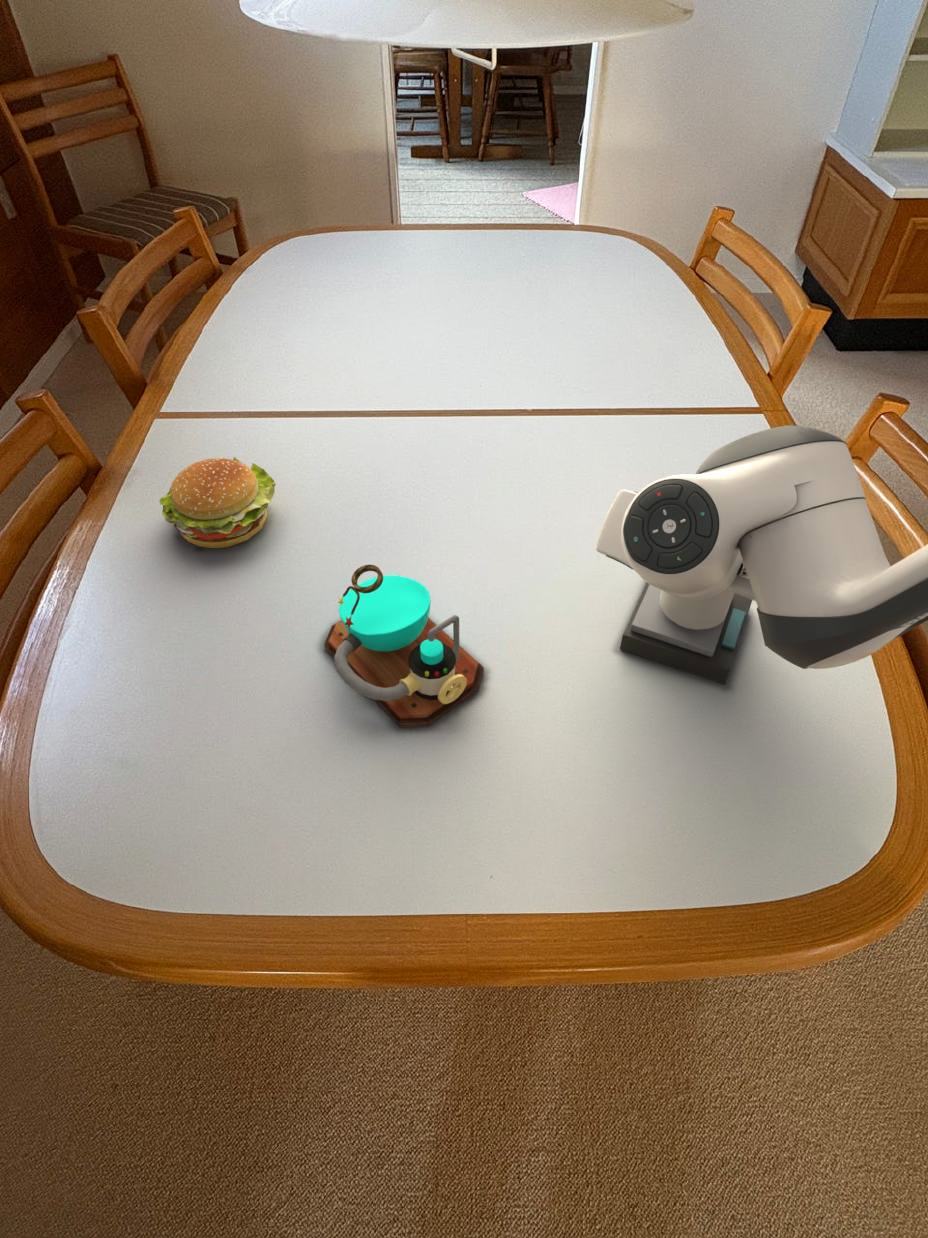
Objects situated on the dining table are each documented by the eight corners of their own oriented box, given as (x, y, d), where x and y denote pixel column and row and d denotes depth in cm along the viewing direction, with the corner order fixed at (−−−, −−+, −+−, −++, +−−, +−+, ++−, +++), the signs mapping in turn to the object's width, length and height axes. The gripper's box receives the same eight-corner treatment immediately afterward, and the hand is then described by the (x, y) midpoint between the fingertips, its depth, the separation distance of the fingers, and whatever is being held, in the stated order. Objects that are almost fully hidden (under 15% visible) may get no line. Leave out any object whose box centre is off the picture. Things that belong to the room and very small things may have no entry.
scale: (747, 612, 93) (755, 591, 91) (724, 685, 86) (732, 664, 83) (649, 582, 97) (654, 561, 94) (619, 649, 89) (623, 628, 87)
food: (219, 573, 98) (204, 524, 92) (151, 527, 104) (132, 478, 98) (301, 517, 105) (291, 468, 99) (232, 477, 111) (219, 429, 105)
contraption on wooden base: (392, 752, 80) (380, 657, 69) (297, 649, 89) (273, 551, 78) (495, 681, 86) (499, 584, 75) (396, 592, 95) (387, 493, 84)
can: (675, 641, 86) (700, 560, 77) (647, 593, 90) (666, 512, 82) (737, 627, 87) (768, 546, 78) (706, 581, 92) (731, 500, 83)
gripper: (822, 560, 67) (816, 574, 80) (605, 482, 75) (631, 506, 88) (791, 627, 68) (790, 631, 81) (579, 544, 76) (608, 559, 88)
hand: (706, 565), depth 84 cm, fingers open, 8 cm apart
